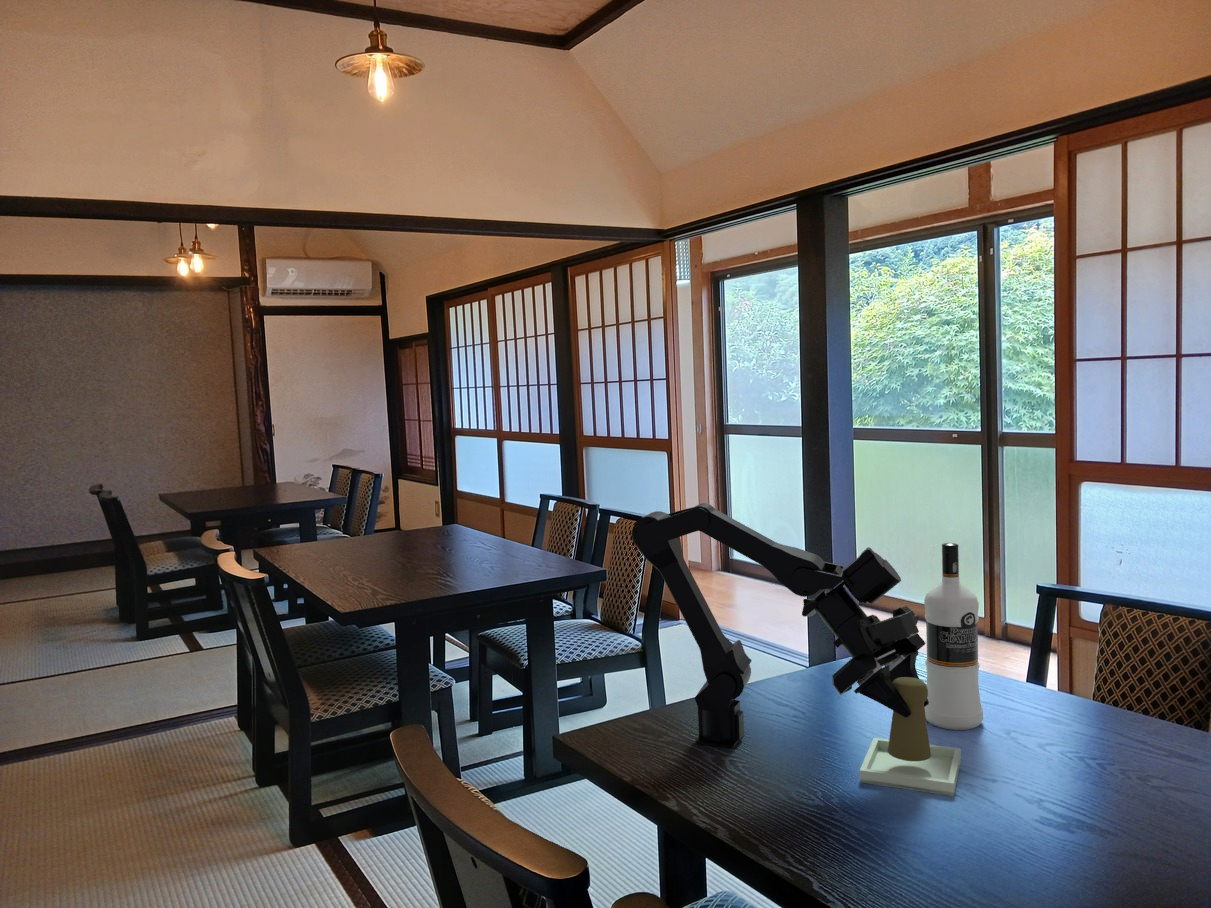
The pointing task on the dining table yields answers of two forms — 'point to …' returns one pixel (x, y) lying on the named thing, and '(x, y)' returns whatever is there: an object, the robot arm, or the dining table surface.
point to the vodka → (952, 650)
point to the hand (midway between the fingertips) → (917, 710)
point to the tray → (912, 769)
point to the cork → (910, 723)
